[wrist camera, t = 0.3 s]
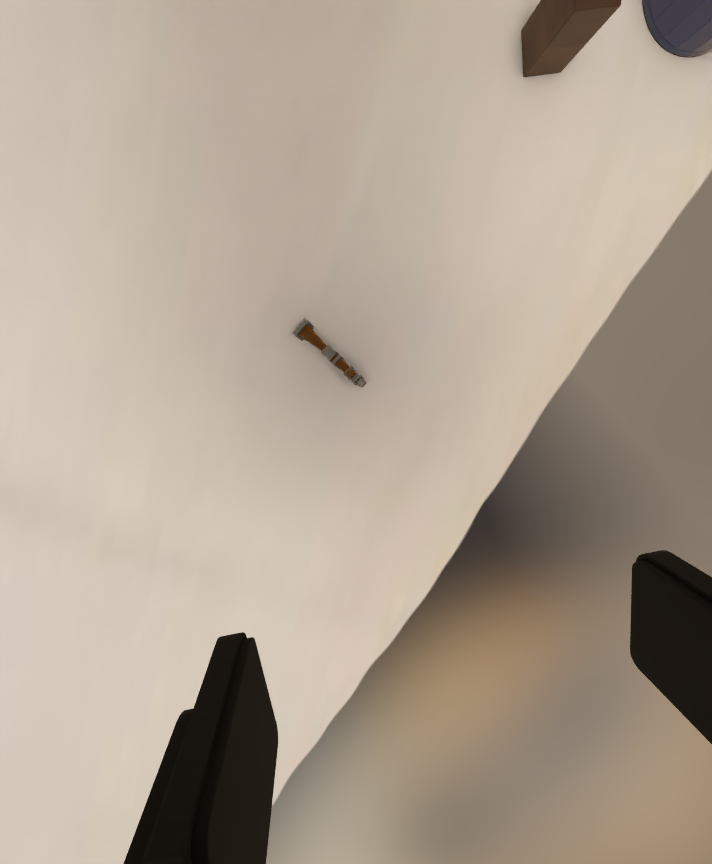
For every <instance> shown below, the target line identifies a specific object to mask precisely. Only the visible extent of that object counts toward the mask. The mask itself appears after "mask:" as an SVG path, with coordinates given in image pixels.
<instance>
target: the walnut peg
mask: <svg viewBox="0 0 712 864" xmlns="http://www.w3.org/2000/svg"><path fill="white" fill-rule="evenodd" d="M620 5H621V0H541V1H540V3H539V4H538V6H537V7H536V9H535V10H534V12H533V13H532V15H531V16H530V18H529V19H528V21H527V22H526V24H525V26H524V27H523V29H522V51H523V72H524V77H527V76H534V75H541V74H549V73H556V72H561V71H562V70H563V69H564V68H565V67H566V65H567V64H568V63H569V62H570V61H571V60H572V59H573V58H574V57H575V55H576V54H577V53H578V52H579V51H580V50H581V49H582V48H583V47H584V45H585V44H586V43H587V42H588V41H589V40H590V39H591V38H592V37H593V35H594V34H595V33H596V32H597V31H598V30H599V29H600V28H601V27H602V25H603V24H604V23H605V22H606V21H607V20H608V19H609V18H610V17H611V15H612V14H613V13H614V12H615V11H616V10H617V9H618V8H619V7H620Z"/></svg>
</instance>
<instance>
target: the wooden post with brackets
mask: <svg viewBox="0 0 712 864" xmlns="http://www.w3.org/2000/svg"><path fill="white" fill-rule="evenodd" d="M312 329H313V326H312V324H311V323H310V322H309V321H308V320H307V319H306V318H305V319H304V320H303V321H302V322H301V323H300V324H299V326H298V327H297V328H296V329H295V330H294V332H293V333H292V334H294V335H295V336H296V337H297V338H299V339H300V340H301V341H302V340H303V339H305V340H307V341H309V342H310V343H311V344H313V345H314V346H316V347H317V348H318V349H319V350H321V351H322V352H321V353H322V354H323V355H325V356H326V357H327V358H328V360H329V361H330V362H331V363H332V364H334V365H335V366H336V367H338V368H339V369H341V370H342V371H343V372H344V375H346V376H347V377H348V378H349V379H350V380H351V381H352V382H353V384H355V385H358V386H360V387H363V386H364V385H365V384H366V381H365V380H364V379H363V377H362V376H361V375H359V374H358V373H357V372H356V371H355V370H354V368H353V367H352V366H349V365H348V364H347V363H346V362H345V361H344V360H343V358H342V357H341V356H340V355H339V354H338V353H337V352H335V351H334V350H333V349H332V348H331V347H330V346H329V345H326V344H325V343H324V342H323V341H322V340H321V339H320V338H319V337H318V336H317V335H316V334H315V333H314V331H313V330H312Z"/></svg>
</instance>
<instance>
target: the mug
mask: <svg viewBox="0 0 712 864" xmlns="http://www.w3.org/2000/svg"><path fill="white" fill-rule="evenodd" d="M643 7H644V14H645V18H646V22H647V24H648V27H649V29H650V31H651V33H652V35H653V37H654V38H655V39H656V41H657V42H658V43H659V44H660V45H661V46H662V47H663V48H664V49H666V50H667V51H669V52H671V53H673V54H675V55H679V56H684V57H694V56H698V55H702V54H705V53H707V52H709V51H711V50H712V0H643Z"/></svg>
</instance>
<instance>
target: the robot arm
mask: <svg viewBox="0 0 712 864" xmlns="http://www.w3.org/2000/svg"><path fill="white" fill-rule="evenodd" d="M630 653H631V657H632V659H633V661H634V663H635V665H636V666H637V667H638V669H639V670H640V671H641V672H642V673H643V674H644V675H645V676H646V677H647V678H648V679H649V680H650V681H651V682H652V683H653V684H654V685H655V686H656V687H657V688H658V689H659V690H660V691H661V692H662V693H663V694H664V696H666V698H668V699H669V701H670V702H671V703H672V704H673V705H674V706H675V707H676V708H677V709H678V710H679V711H680V712H681V713H682V714H683V715H684V716H685V717H686V718H687V719H688V720H689V721H690V722H691V723H692V724H693V725H694V726H695V727H696V728H697V729H698V730H699V731H700V732H701V734H702V735H704V737H705V738H706V739H707V740H708V741H709V742H710V743H711V744H712V577H710V576H709V575H707V574H705V573H704V572H702V571H700V570H699V569H697V568H695V567H694V566H692V565H691V564H688V563H687V562H686V561H684V560H682V559H681V558H679V557H677V556H675V555H674V554H672V553H670V552H668V551H664V550H663V551H662V550H661V551H656V552H651V553H646V554H642V555H639V556H638V558H637V560H636V562H635V563H634V564H633V566H632V595H631V638H630ZM277 748H278V730H277V724H276V720H275V716H274V712H273V709H272V705H271V701H270V697H269V693H268V689H267V685H266V681H265V677H264V674H263V670H262V666H261V662H260V658H259V654H258V650H257V646H256V642H255V639H254V638H253V637H252V638H247V637H246V634H245V633H243V632H242V633H237V634H232V635H227V636H222V637H219V638H218V640H217V642H216V645H215V647H214V650H213V653H212V656H211V659H210V662H209V665H208V668H207V671H206V674H205V677H204V680H203V683H202V686H201V689H200V691H199V694H198V697H197V700H196V703H195V706H194V709H189V710H185V711H183V712H182V713H181V715H180V716H179V718H178V720H177V722H176V725H175V728H174V730H173V733H172V736H171V738H170V741H169V744H168V746H167V749H166V752H165V754H164V757H163V760H162V762H161V765H160V768H159V770H158V773H157V776H156V779H155V781H154V784H153V787H152V789H151V792H150V795H149V797H148V800H147V803H146V805H145V808H144V811H143V813H142V816H141V819H140V821H139V824H138V827H137V829H136V832H135V835H134V837H133V840H132V843H131V845H130V848H129V851H128V853H127V856H126V859H125V861H124V864H266V856H267V846H268V836H269V827H270V817H271V807H272V797H273V788H274V778H275V768H276V758H277Z"/></svg>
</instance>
